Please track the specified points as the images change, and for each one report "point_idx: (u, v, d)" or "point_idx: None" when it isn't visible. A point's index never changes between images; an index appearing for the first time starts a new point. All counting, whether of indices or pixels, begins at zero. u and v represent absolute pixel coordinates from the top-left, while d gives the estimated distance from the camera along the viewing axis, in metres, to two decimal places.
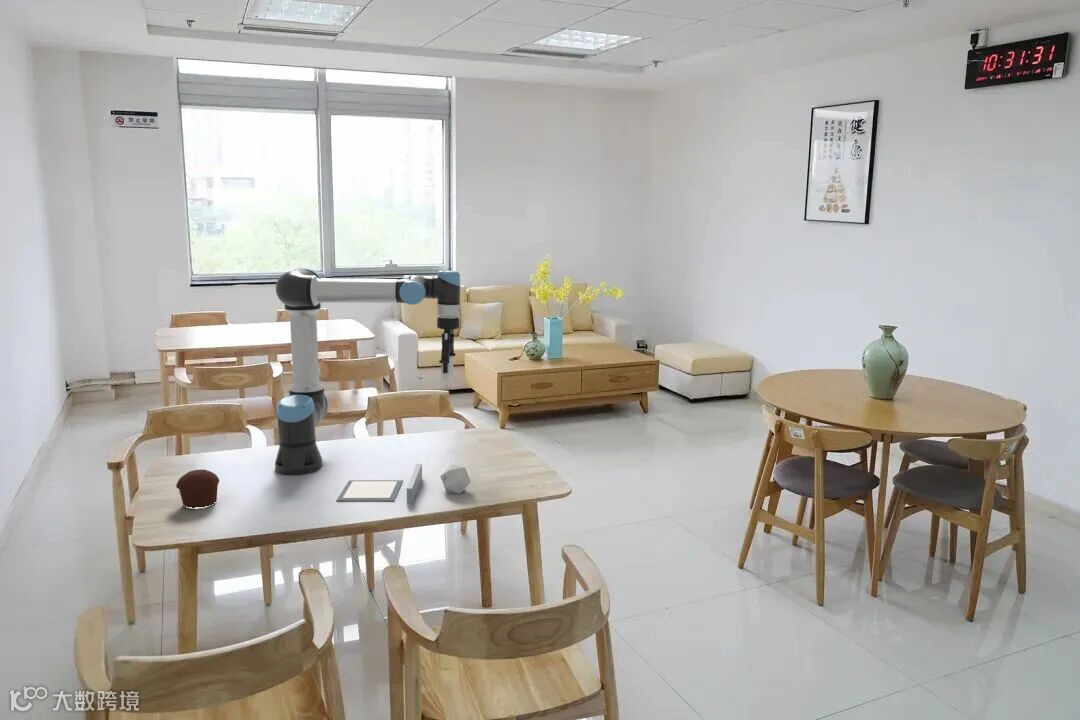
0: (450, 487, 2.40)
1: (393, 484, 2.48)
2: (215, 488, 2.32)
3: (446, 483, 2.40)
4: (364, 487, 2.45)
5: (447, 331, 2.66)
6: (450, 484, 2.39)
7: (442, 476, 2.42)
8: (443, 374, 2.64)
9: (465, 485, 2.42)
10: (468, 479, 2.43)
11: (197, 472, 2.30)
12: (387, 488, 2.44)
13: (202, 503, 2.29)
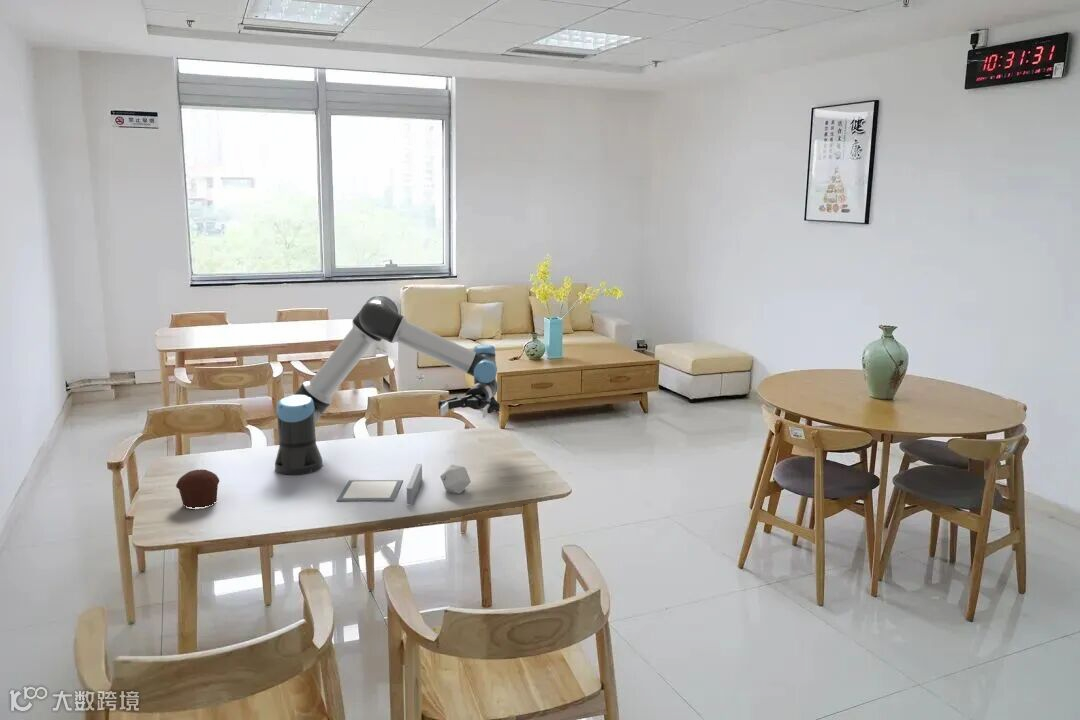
0: (450, 487, 2.40)
1: (393, 484, 2.48)
2: (215, 488, 2.32)
3: (446, 483, 2.40)
4: (364, 487, 2.45)
5: (486, 400, 2.65)
6: (450, 484, 2.39)
7: (442, 476, 2.42)
8: (486, 409, 2.50)
9: (465, 485, 2.42)
10: (468, 479, 2.43)
11: (197, 472, 2.30)
12: (387, 488, 2.44)
13: (202, 503, 2.29)
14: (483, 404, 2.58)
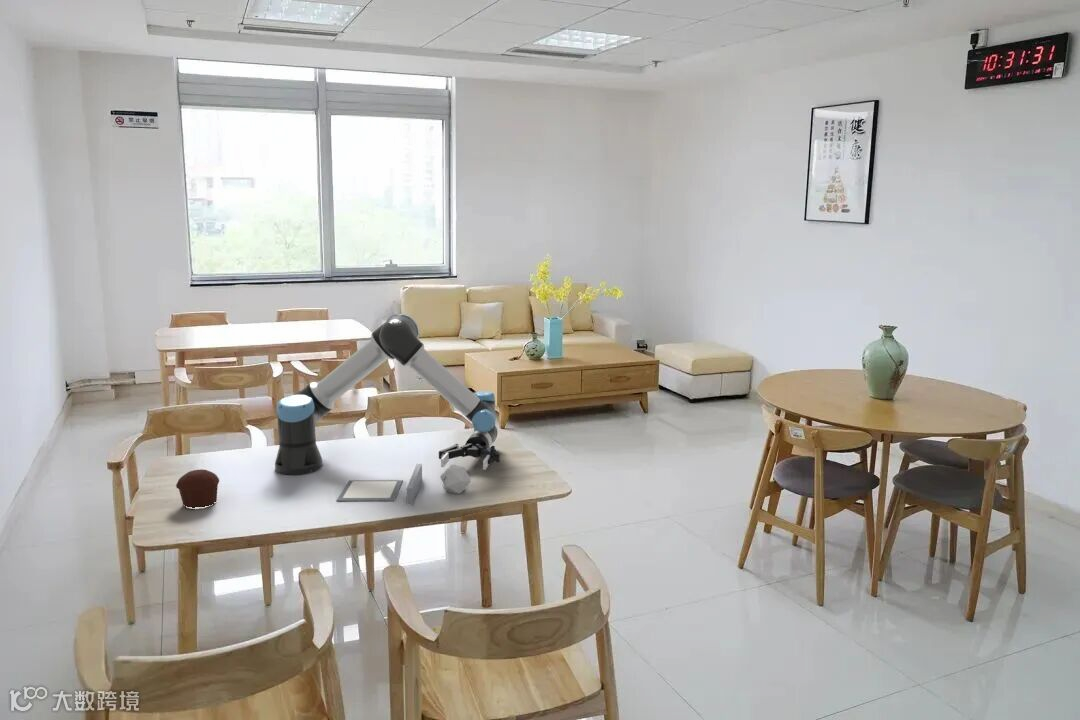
0: (450, 487, 2.40)
1: (393, 484, 2.48)
2: (215, 488, 2.32)
3: (446, 483, 2.40)
4: (364, 487, 2.45)
5: None
6: (450, 484, 2.39)
7: (442, 476, 2.42)
8: (487, 460, 2.52)
9: (465, 485, 2.42)
10: (468, 479, 2.43)
11: (197, 472, 2.30)
12: (387, 488, 2.44)
13: (202, 503, 2.29)
14: (483, 454, 2.60)
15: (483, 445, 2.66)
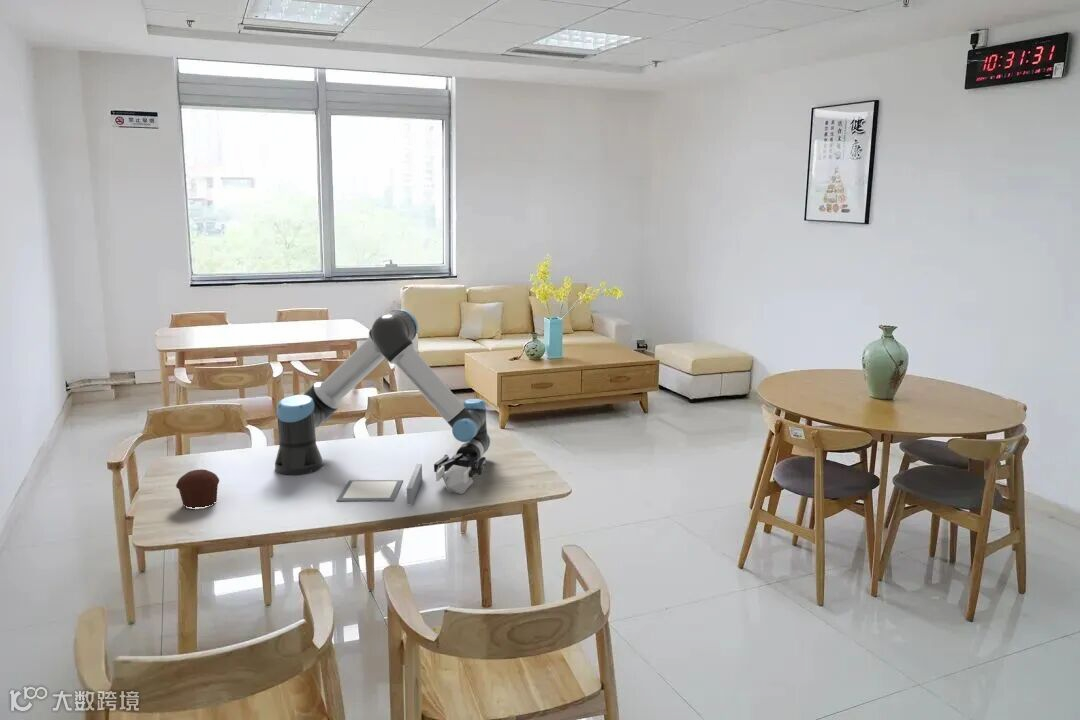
0: (452, 487, 2.39)
1: (393, 484, 2.48)
2: (215, 488, 2.32)
3: (448, 483, 2.39)
4: (364, 487, 2.45)
5: None
6: (452, 485, 2.39)
7: (444, 476, 2.42)
8: (468, 473, 2.40)
9: (467, 485, 2.42)
10: (470, 479, 2.42)
11: (197, 472, 2.30)
12: (387, 488, 2.44)
13: (202, 503, 2.29)
14: (469, 465, 2.48)
15: (475, 455, 2.55)
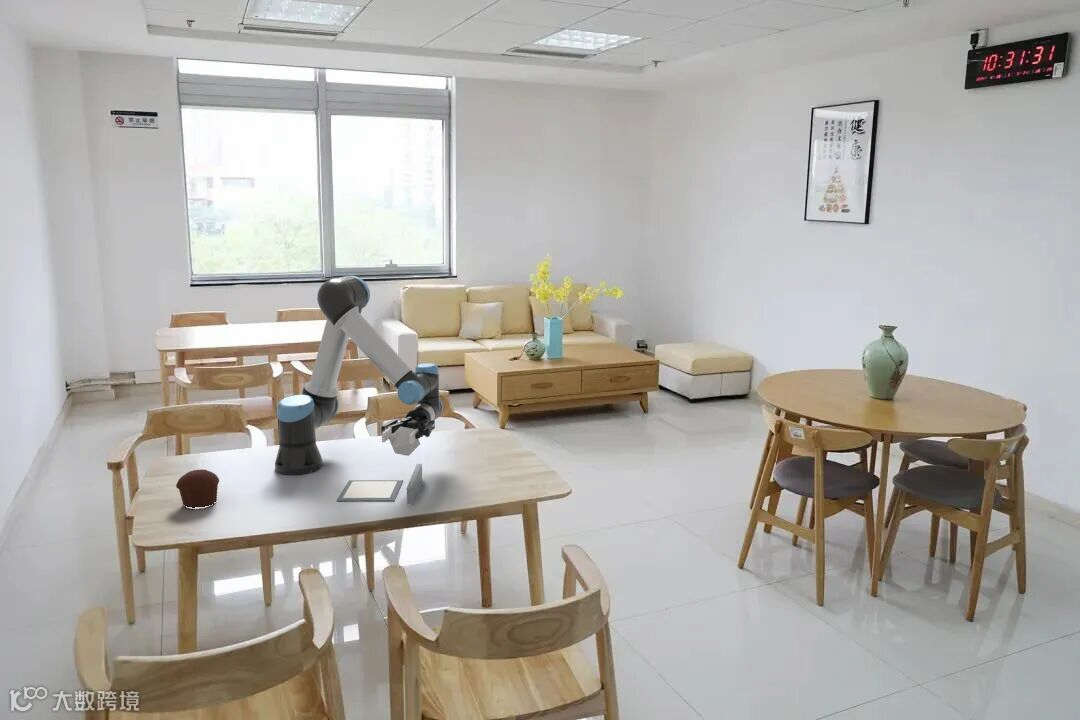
0: (399, 449, 2.36)
1: (393, 484, 2.48)
2: (215, 488, 2.32)
3: (394, 445, 2.36)
4: (364, 487, 2.45)
5: None
6: (398, 446, 2.35)
7: (390, 438, 2.38)
8: (414, 434, 2.36)
9: (414, 447, 2.38)
10: (418, 441, 2.39)
11: (197, 472, 2.30)
12: (387, 488, 2.44)
13: (202, 503, 2.29)
14: (417, 427, 2.45)
15: (425, 419, 2.51)
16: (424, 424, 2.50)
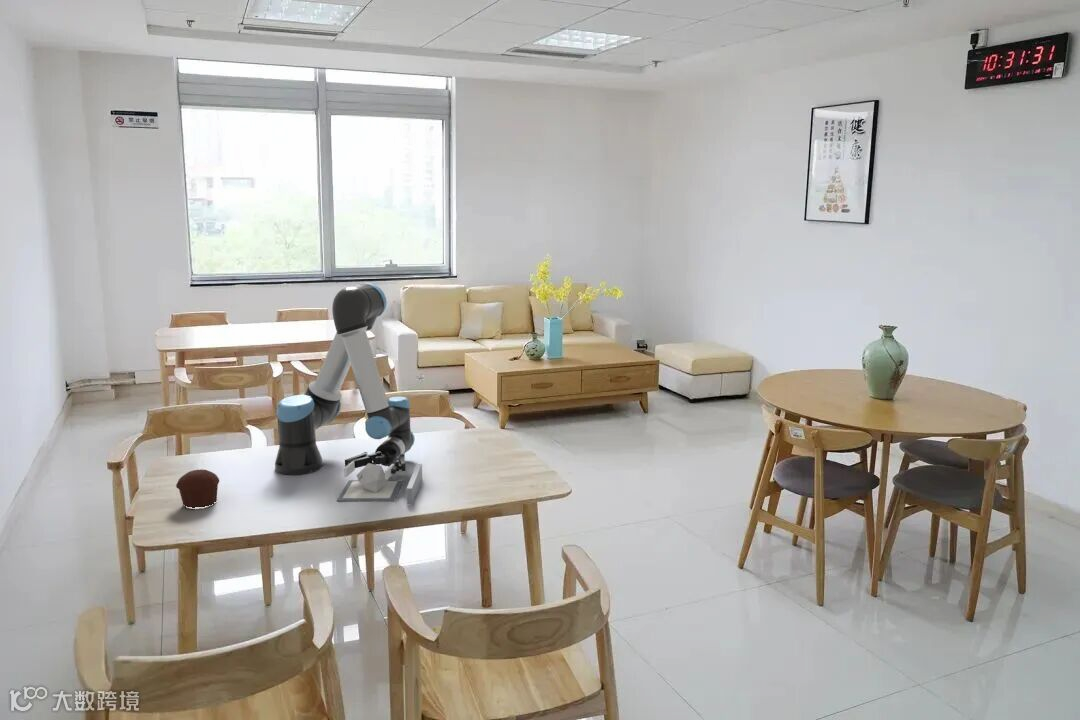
0: (366, 486, 2.39)
1: (393, 484, 2.48)
2: (215, 488, 2.32)
3: (362, 482, 2.39)
4: None
5: None
6: (365, 483, 2.38)
7: (358, 475, 2.41)
8: (390, 470, 2.40)
9: (381, 484, 2.41)
10: None
11: (197, 472, 2.30)
12: (387, 488, 2.44)
13: (202, 503, 2.29)
14: (390, 462, 2.48)
15: (393, 453, 2.54)
16: (394, 458, 2.53)
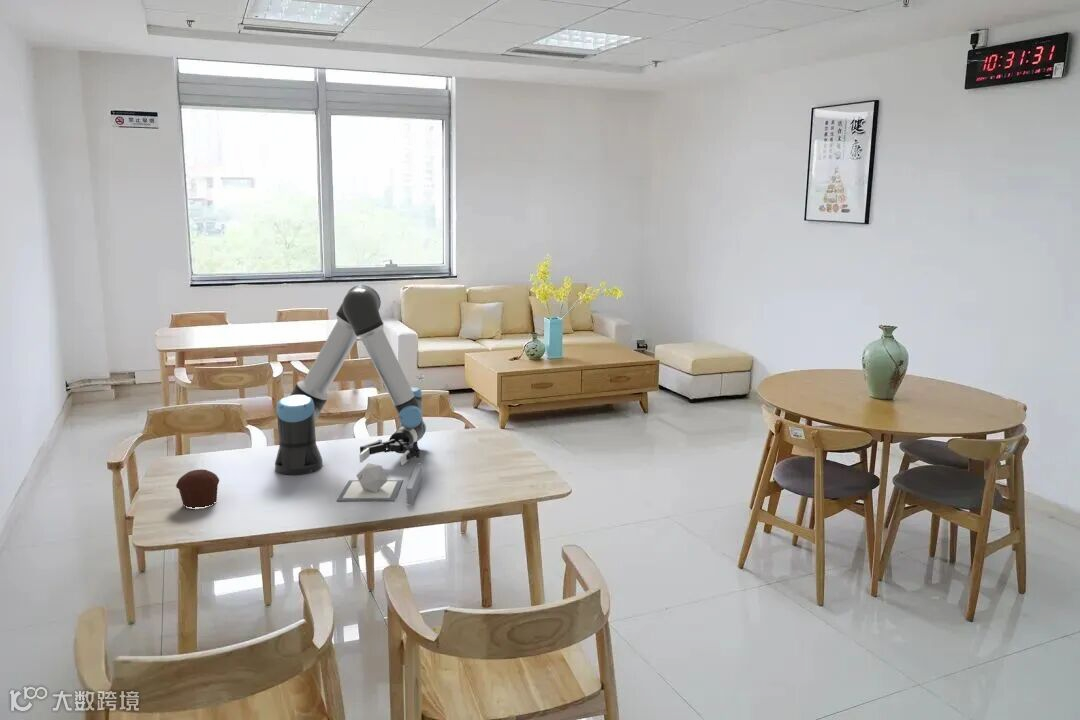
0: (366, 486, 2.39)
1: (393, 484, 2.48)
2: (215, 488, 2.32)
3: (362, 482, 2.39)
4: None
5: None
6: (365, 483, 2.38)
7: (358, 475, 2.41)
8: (405, 456, 2.53)
9: (381, 484, 2.41)
10: (385, 477, 2.42)
11: (197, 472, 2.30)
12: (387, 488, 2.44)
13: (202, 503, 2.29)
14: (404, 449, 2.61)
15: (406, 441, 2.67)
16: (407, 446, 2.65)
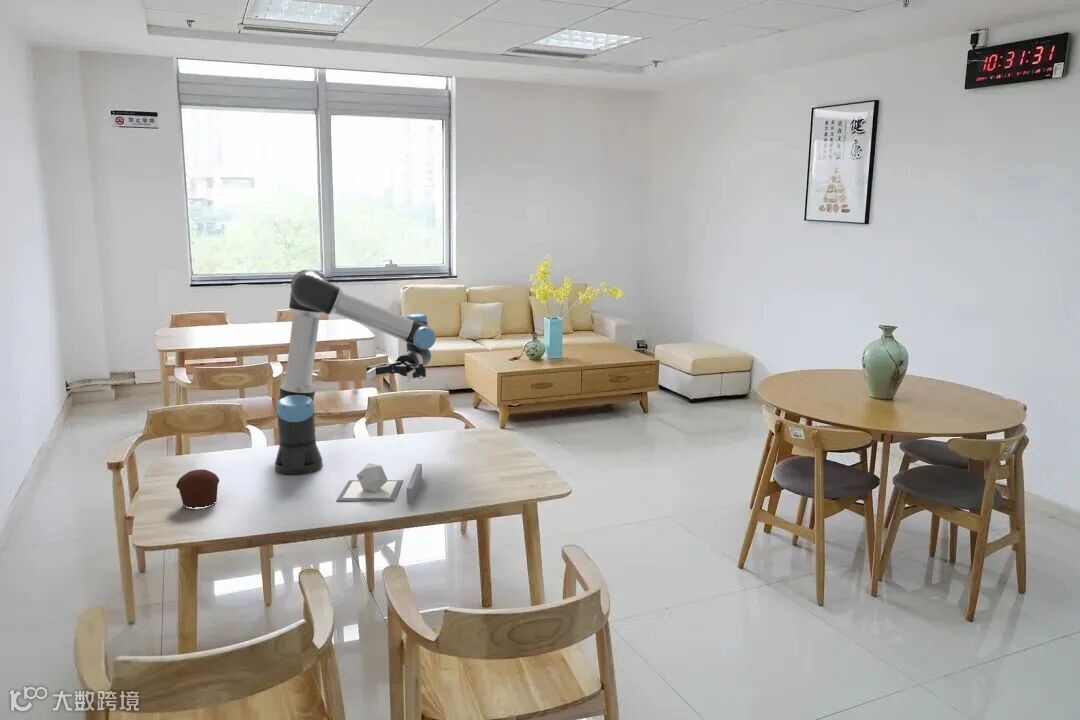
0: (366, 486, 2.39)
1: (393, 484, 2.48)
2: (215, 488, 2.32)
3: (362, 482, 2.39)
4: None
5: None
6: (365, 483, 2.38)
7: (358, 475, 2.41)
8: (412, 374, 2.55)
9: (381, 484, 2.41)
10: (385, 477, 2.42)
11: (197, 472, 2.30)
12: (387, 488, 2.44)
13: (202, 503, 2.29)
14: (410, 370, 2.63)
15: (412, 363, 2.69)
16: None
